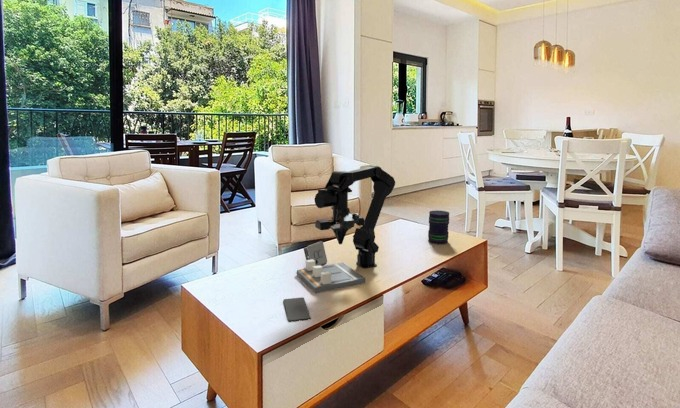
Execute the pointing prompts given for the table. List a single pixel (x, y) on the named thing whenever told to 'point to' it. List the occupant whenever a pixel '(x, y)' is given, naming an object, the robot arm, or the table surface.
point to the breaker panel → (332, 278)
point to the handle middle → (317, 271)
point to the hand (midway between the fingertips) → (340, 244)
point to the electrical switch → (316, 253)
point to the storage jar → (438, 227)
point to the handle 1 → (310, 264)
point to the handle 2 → (326, 278)
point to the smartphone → (296, 309)
